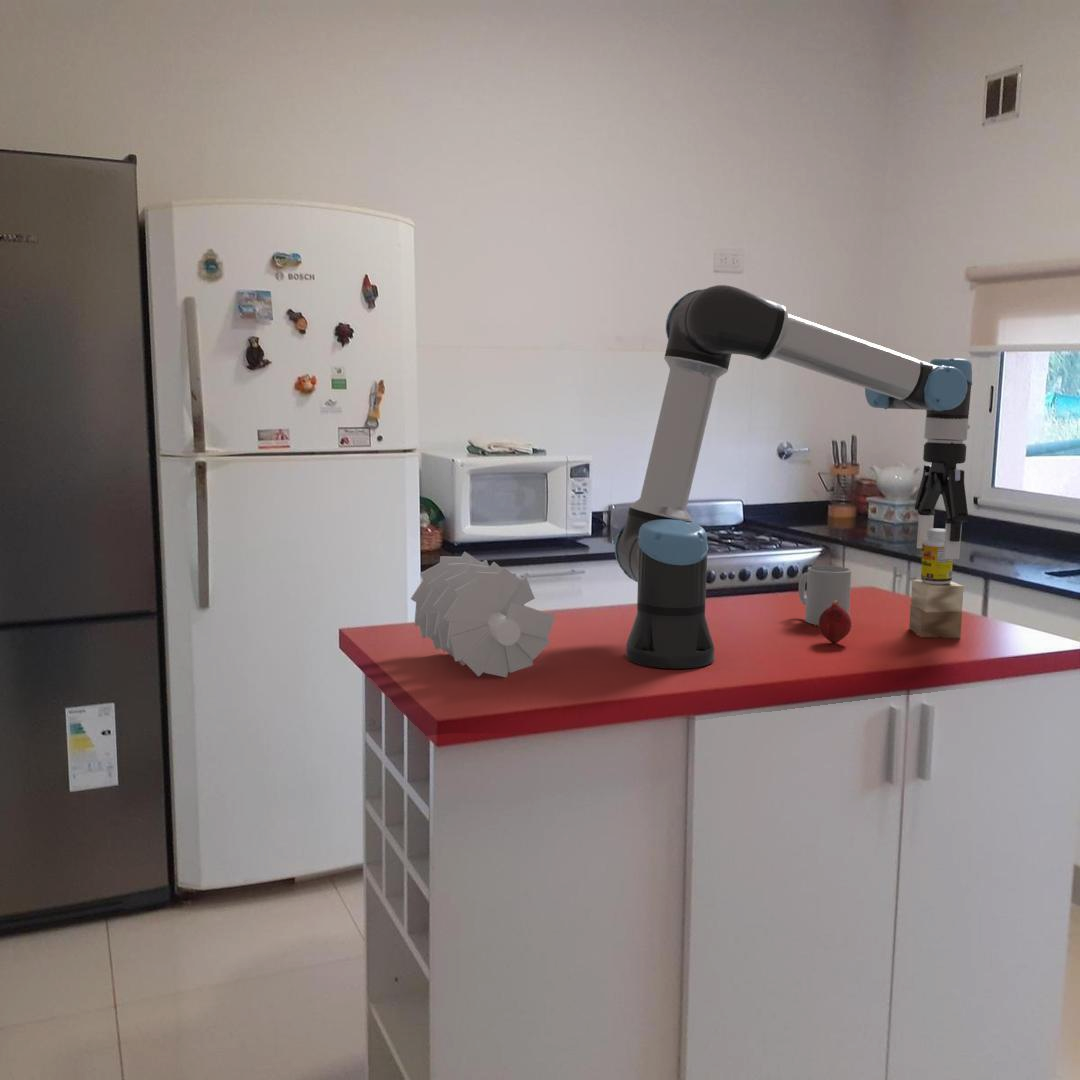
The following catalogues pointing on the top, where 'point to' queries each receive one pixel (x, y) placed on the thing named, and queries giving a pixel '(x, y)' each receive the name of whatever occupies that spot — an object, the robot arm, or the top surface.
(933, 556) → the supplement bottle
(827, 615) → the onion
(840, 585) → the mug
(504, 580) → the spiral staircase
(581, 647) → the top surface
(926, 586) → the top block
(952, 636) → the bottom block
